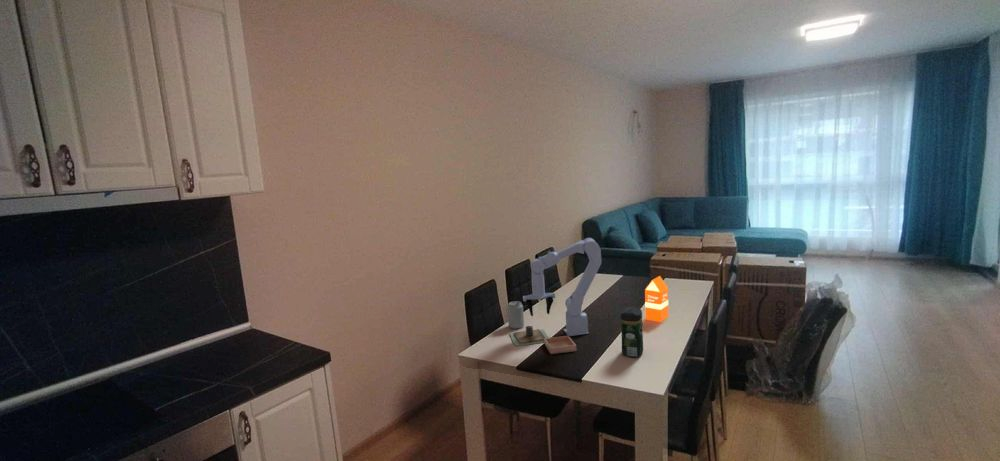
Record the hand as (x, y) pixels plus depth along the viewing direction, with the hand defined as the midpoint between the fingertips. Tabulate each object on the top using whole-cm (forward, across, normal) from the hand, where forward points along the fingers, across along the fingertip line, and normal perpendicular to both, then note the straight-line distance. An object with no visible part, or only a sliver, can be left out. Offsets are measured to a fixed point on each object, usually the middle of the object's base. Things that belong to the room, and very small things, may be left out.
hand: (539, 314), depth 205 cm
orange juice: (+10, +58, +2) cm, 59 cm away
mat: (+9, -6, -3) cm, 12 cm away
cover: (+9, -6, -3) cm, 11 cm away
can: (+10, -9, +13) cm, 18 cm away
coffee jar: (+10, +30, -31) cm, 44 cm away
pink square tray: (+9, +4, -17) cm, 20 cm away
